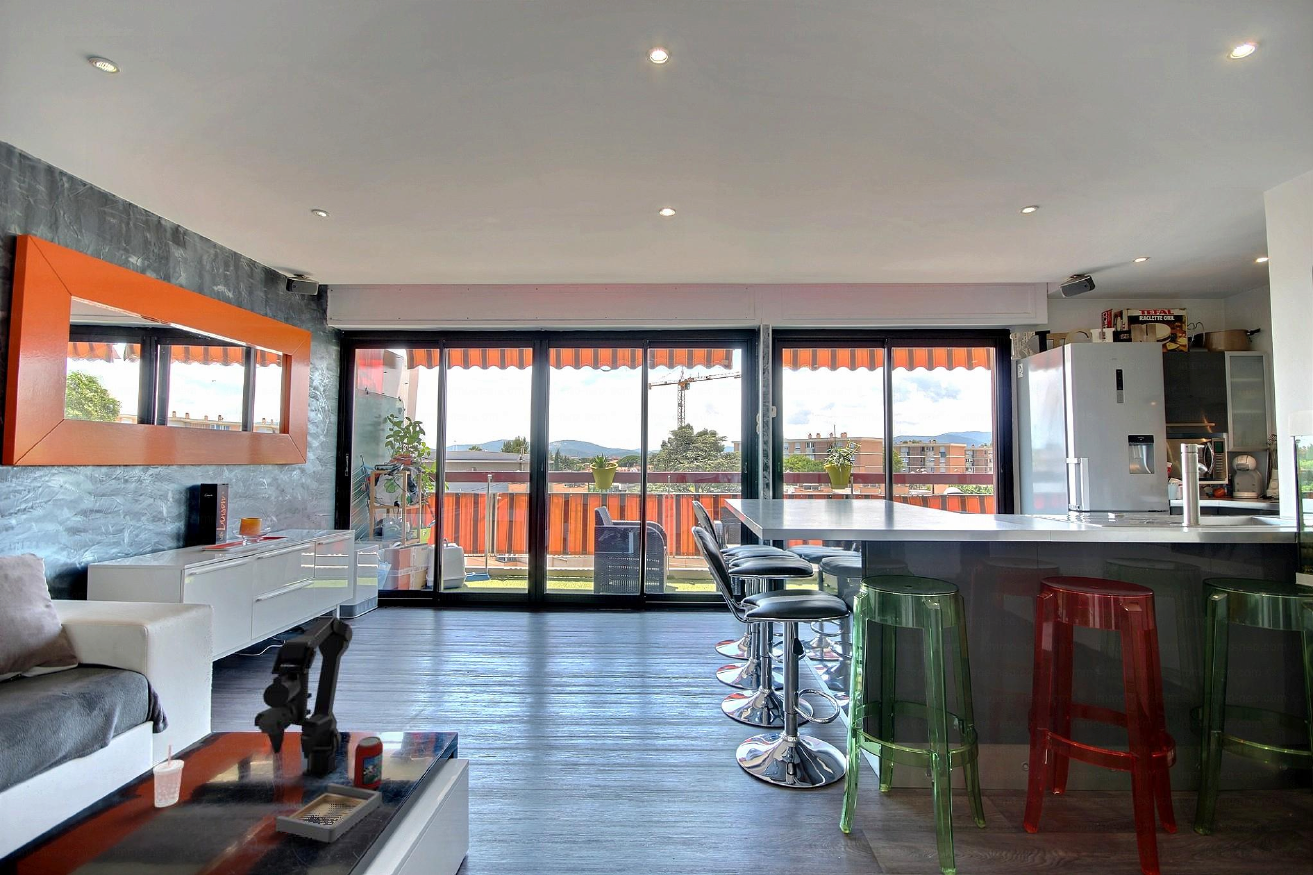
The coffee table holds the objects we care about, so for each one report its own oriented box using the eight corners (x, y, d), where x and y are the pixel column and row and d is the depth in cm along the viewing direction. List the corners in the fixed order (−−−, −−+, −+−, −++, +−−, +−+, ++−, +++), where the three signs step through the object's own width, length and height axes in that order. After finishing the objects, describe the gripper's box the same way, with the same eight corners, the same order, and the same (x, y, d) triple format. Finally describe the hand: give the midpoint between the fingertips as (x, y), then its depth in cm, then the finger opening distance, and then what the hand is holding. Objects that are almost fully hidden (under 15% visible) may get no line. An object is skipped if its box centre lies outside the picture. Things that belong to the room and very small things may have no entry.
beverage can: (370, 794, 160) (372, 747, 160) (347, 791, 161) (349, 744, 162) (386, 781, 167) (388, 736, 167) (364, 778, 168) (366, 733, 168)
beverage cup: (186, 799, 155) (190, 743, 156) (158, 811, 150) (161, 753, 151) (174, 793, 158) (177, 737, 159) (146, 804, 153) (149, 747, 153)
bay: (276, 831, 143) (276, 817, 144) (330, 794, 160) (330, 782, 160) (331, 843, 140) (332, 829, 140) (381, 804, 156) (381, 792, 156)
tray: (284, 828, 145) (285, 819, 145) (325, 800, 157) (326, 792, 158) (328, 837, 142) (329, 828, 142) (367, 808, 154) (367, 800, 154)
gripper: (236, 699, 148) (232, 764, 148) (299, 708, 144) (295, 776, 143) (275, 683, 159) (272, 744, 159) (335, 692, 155) (332, 755, 154)
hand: (291, 755), depth 153 cm, fingers open, 9 cm apart
